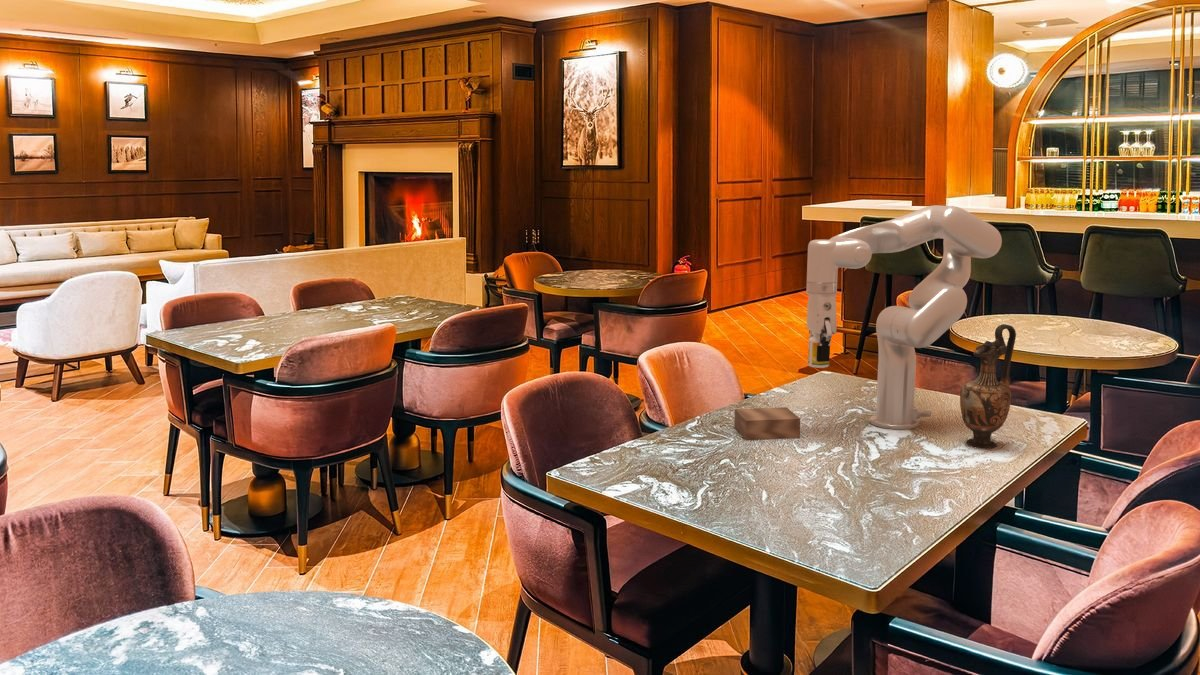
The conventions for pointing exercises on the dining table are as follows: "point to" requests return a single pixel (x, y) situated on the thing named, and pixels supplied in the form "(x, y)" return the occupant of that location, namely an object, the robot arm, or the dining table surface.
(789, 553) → the dining table surface
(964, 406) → the vase
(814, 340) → the supplement bottle
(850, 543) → the dining table surface
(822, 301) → the robot arm
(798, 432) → the walnut plinth
